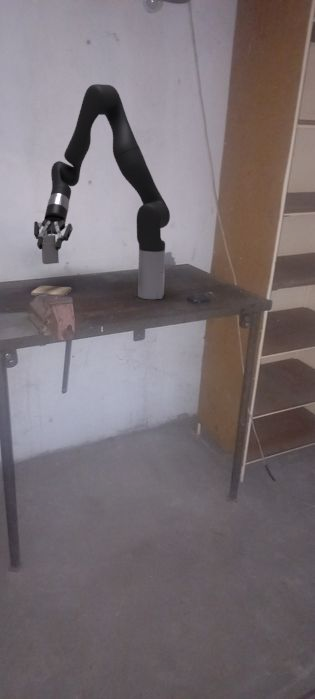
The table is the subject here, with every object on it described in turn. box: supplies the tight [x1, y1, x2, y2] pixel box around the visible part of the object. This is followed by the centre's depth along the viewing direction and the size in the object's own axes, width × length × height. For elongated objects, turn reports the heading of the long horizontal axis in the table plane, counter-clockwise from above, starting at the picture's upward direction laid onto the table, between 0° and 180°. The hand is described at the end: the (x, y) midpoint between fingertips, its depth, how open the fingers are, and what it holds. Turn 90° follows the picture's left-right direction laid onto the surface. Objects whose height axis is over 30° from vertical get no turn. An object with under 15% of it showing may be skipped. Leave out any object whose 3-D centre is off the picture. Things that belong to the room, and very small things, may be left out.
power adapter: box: [41, 229, 60, 265], centre depth 184 cm, size 3×5×12 cm, turn 120°
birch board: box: [30, 285, 72, 297], centre depth 190 cm, size 12×10×1 cm
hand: (48, 248), depth 182 cm, fingers closed on power adapter, 5 cm apart
